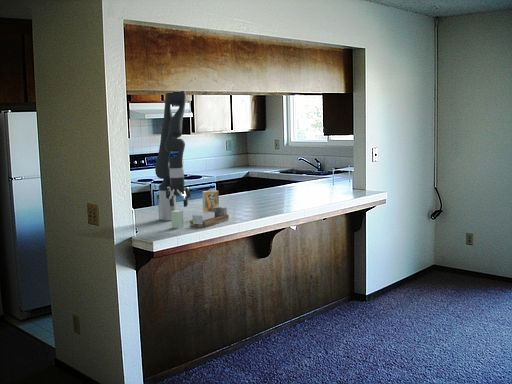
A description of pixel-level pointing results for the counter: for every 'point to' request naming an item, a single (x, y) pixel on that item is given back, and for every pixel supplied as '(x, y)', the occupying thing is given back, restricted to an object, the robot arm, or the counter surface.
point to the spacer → (177, 219)
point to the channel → (219, 217)
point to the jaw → (203, 217)
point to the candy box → (210, 200)
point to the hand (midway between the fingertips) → (178, 206)
